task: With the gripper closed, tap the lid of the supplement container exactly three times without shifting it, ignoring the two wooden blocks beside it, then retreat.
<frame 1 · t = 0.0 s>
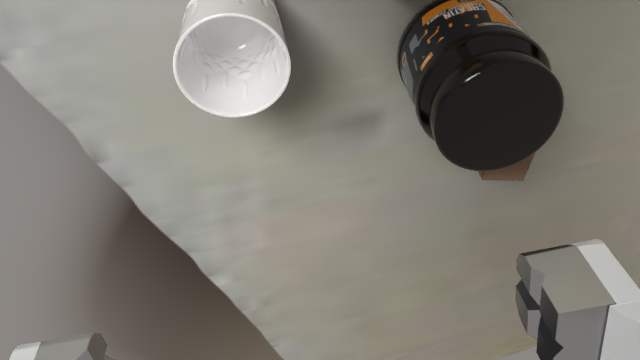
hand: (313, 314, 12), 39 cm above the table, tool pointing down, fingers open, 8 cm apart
supplement container: (452, 44, 52), on the table
walnut block: (487, 125, 58), on the table
white cup: (232, 7, 48), on the table
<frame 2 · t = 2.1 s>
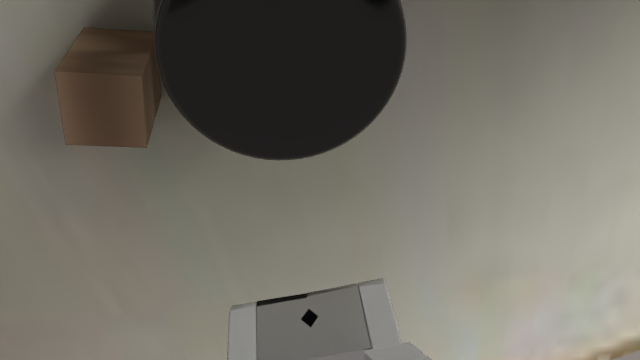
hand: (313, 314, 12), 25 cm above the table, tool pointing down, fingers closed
walnut block: (124, 63, 34), on the table
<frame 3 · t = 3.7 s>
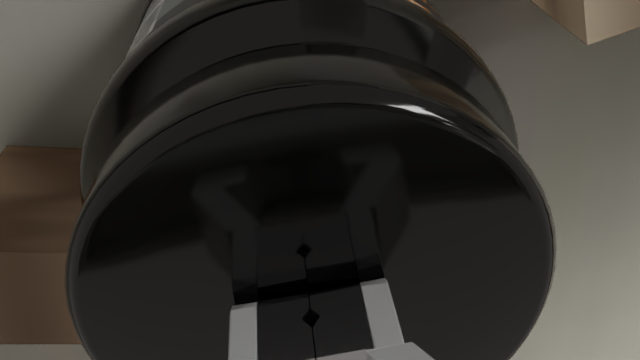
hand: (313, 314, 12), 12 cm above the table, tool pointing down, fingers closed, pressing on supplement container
supplement container: (288, 64, 22), on the table, touching gripper
walnut block: (69, 191, 23), on the table
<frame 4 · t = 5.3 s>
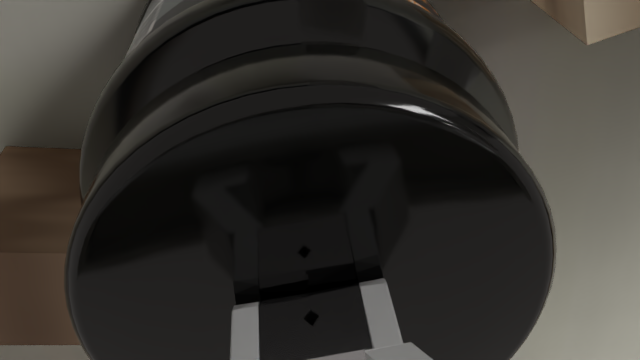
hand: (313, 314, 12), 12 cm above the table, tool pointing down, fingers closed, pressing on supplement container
supplement container: (288, 64, 22), on the table, touching gripper
walnut block: (69, 191, 23), on the table
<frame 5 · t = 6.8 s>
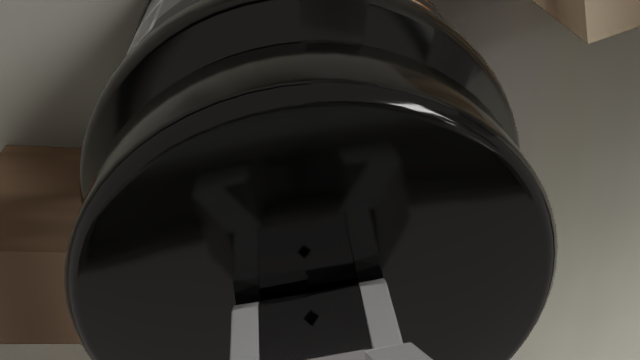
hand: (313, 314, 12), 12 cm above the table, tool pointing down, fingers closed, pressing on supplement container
supplement container: (288, 63, 22), on the table, touching gripper
walnut block: (69, 190, 23), on the table
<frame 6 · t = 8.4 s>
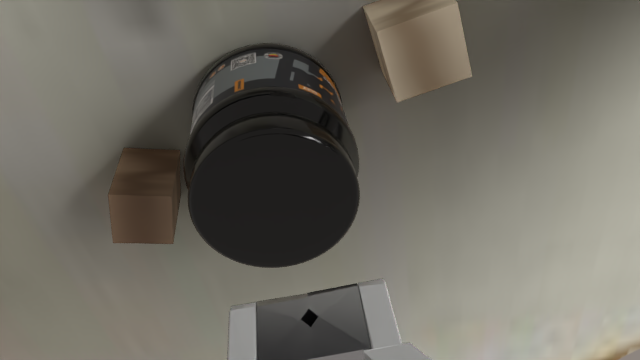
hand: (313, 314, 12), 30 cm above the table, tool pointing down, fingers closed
beech block: (407, 27, 41), on the table
supplement container: (267, 106, 43), on the table
walnut block: (153, 171, 45), on the table
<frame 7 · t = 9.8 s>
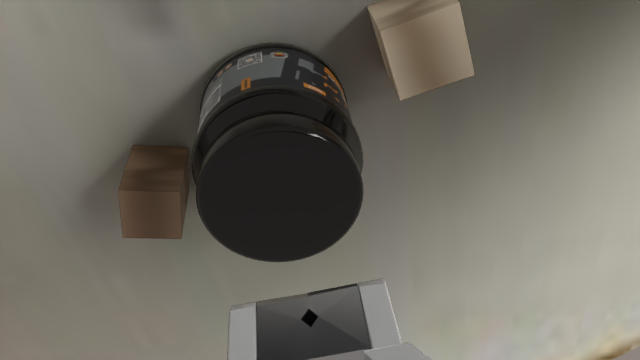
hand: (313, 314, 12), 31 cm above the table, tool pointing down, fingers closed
beech block: (410, 26, 41), on the table
supplement container: (273, 104, 44), on the table
walnut block: (161, 168, 46), on the table
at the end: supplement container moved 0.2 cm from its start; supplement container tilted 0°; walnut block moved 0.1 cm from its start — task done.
